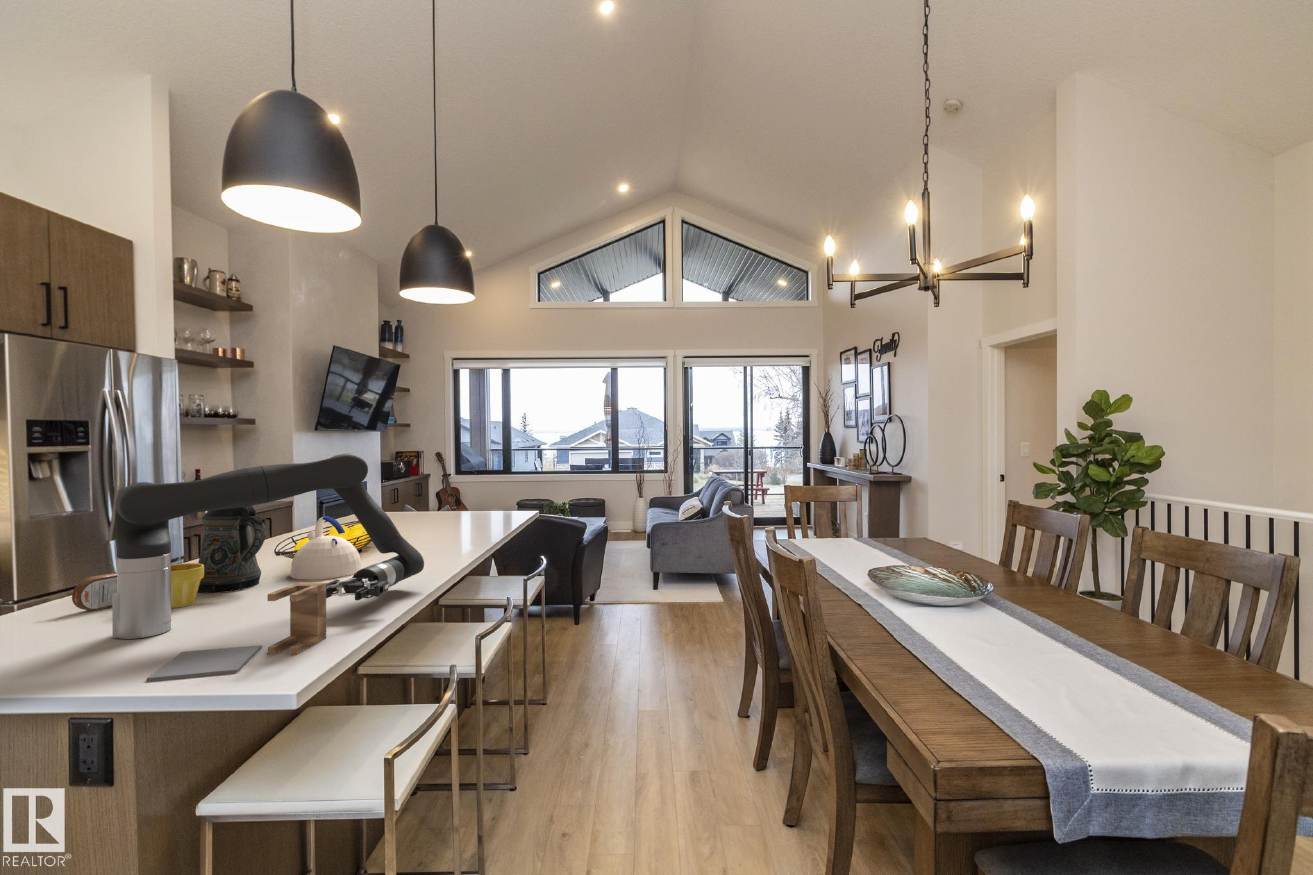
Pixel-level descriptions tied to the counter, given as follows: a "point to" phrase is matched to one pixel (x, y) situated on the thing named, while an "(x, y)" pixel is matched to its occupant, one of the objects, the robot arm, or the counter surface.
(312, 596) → the stool
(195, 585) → the plant pot
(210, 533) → the beer stein
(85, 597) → the tin
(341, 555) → the kettle
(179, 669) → the mat
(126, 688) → the counter surface
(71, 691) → the counter surface
